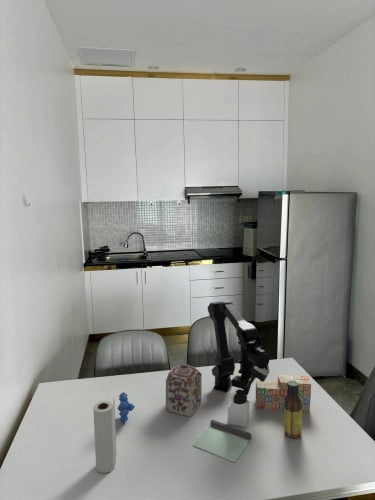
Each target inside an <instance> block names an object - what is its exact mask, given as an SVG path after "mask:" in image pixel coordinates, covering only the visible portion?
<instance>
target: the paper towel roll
mask: <svg viewBox="0 0 375 500" xmlns="http://www.w3.org/2000/svg"><path fill="white" fill-rule="evenodd" d="M93 427H94V428H93V429H94V450H95V451H94V452H95V455H94V456H95V469H96V471H97V472H98V473H101V474H107V473H110V472H112V470H115V469H114V468H115V466H116V464H117V462H116V461H117V437H116V436H117V434H116V433H117V432H116V403H115V398H113V400H112V402H111V401H109V400H108V401H107V400H103V401H98V402H97V403H95V404H94V405H93Z"/></svg>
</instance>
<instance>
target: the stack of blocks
mask: <svg viewBox="0 0 375 500" xmlns="http://www.w3.org/2000/svg"><path fill="white" fill-rule="evenodd" d="M288 381H296V382H298V383H299V388H298V395H299V398H300V400H301V402H302V404H301V406H302V412H308V413H310V409H311V398H312V397H311V396H312V395H311V394H312V382H311V381H310V379H309V376H302V375H285V374H278V375H277V381H273V380H272V381H270V380H265V381H264V382H262V381H260V380H256V381H255V405H256V409H263V408H265V410H275V409H278V411H284V399H285V397H286V395H287V394H288V387H287V382H288Z"/></svg>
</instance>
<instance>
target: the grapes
mask: <svg viewBox="0 0 375 500" xmlns="http://www.w3.org/2000/svg"><path fill="white" fill-rule="evenodd" d="M118 397H119V398H118V400H119V401H120V402H119V404H118V406H117V410H118V411H119V413H118V415H119V416H120V417H119V419H118V420H119V421H120V422H121V423H122V424H125V423H126V422H127V421H128V420H129V417H128V414H129V413H130V412H131V411H133V410H134V409H135V407H136V406H135V405H134V404H133V403H131V402H129V401H128V399H129V398H128V394H127V393H126V392H121V393H120V395H118Z"/></svg>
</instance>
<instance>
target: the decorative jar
mask: <svg viewBox="0 0 375 500" xmlns="http://www.w3.org/2000/svg"><path fill="white" fill-rule="evenodd" d="M202 383H203V382H202V373H201V372H200V371H199V370H198V369H197V368H196V367H195V366H192V365H189V364H186V363H181V364H178V365H176V366H173V367H172V368H171V369H170V370H169V371H168V374H167V376H166V380H165V411H166V412H168V413H169V412H170V413H173V414H176V415H182V416H185V417H189V418H192V417H193V416H194V414H195V413H196V411H197V410H198V408H199V407H200V405H201V404H202V392H203V391H202V386H203V385H202Z"/></svg>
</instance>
